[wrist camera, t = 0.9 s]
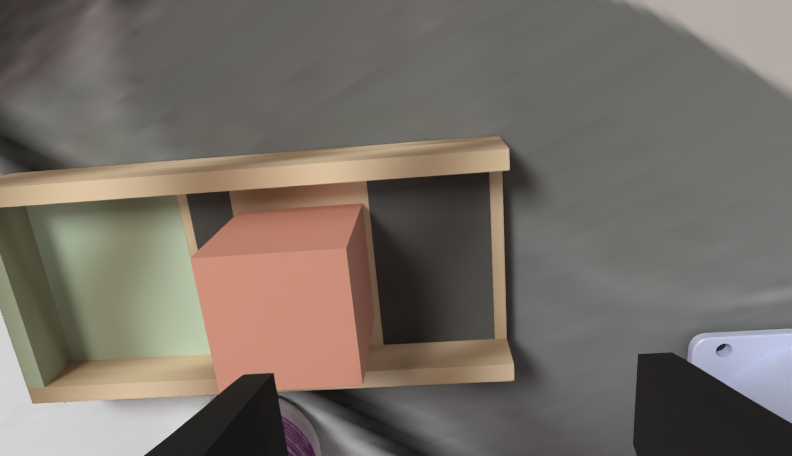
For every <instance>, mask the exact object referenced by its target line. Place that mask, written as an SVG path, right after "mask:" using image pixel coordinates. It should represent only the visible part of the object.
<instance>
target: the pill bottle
mask: <svg viewBox="0 0 792 456" xmlns="http://www.w3.org/2000/svg"><path fill="white" fill-rule="evenodd" d="M213 399H214V398H213ZM213 399H212V400H213ZM212 400H210V401H212ZM278 400H279V406H280V411H281V417H282V422H283V428H284V433H285V439H286V444H287V450H288V455H289V456H321V451H320V443H319V440H318V437H317V434H316V432H315V430H314V428H313V426H312V425H311V423H310V422H309V421H308V420H307V419H306V418H305V416H304V415H303V414H302V412H300V411H299V410H298V409H297V408H296V407H295V406H293V405H292V404H290V403H288V402H287V401H286V400H283V399H281V398H279V397H278ZM210 401H208V402H206V403H205V404H203V405H202V406H201V407H200V408H199V409H198V410H197V411H196V412H195V413H194V414H193V416H194V415H195V414H196V413H197V412H199V411H200V410H201V409H202V408H203V407H205V406H206V405H207V404H208V403H209V402H210ZM193 416H192V417H193ZM192 417H191V418H192Z"/></svg>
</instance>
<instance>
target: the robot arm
mask: <svg viewBox="0 0 792 456" xmlns="http://www.w3.org/2000/svg"><path fill="white" fill-rule="evenodd" d="M721 344H726V346H725V348H724V349H722V350H720V351H716V349H717V347H718V346H720V345H721ZM633 445H634V448H635V451H636V454H637V456H792V329H773V330H753V331H734V332H715V333H703V334H699V335H697V336H695V337H694V338H693V339H692V340H691V341H690V344H689V348H688V359H687V361H686V360H685V359H683V358H681V357H679V356H677V355H675V354H674V353H653V354H638V365H637V383H636V401H635V419H634V437H633ZM144 456H289V455H288V450H287V444H286V439H285V433H284V428H283V422H282V417H281V411H280V406H279V400H278V395H277V389H276V384H275V378H274V373H262V374H244V375H242V376H241V377H239V378H238V379H237V380H235V381H234V382H233V383H232V384H231V385H229V386H228V387H227V388H226V389H224V390H223V391H222V392H221V393H220V394H219V395H217V396H216V397H215V398H214V399H213V400H212V401H210V402H209V403H208V404H207V405H206V406H205V407H203V408H202V409H201V410H200V411H199V412H197V413H196V414H195V415H194V416H193V417H192V418H190V419H189V420H188V421H187V422H186V423H184V424H183V425H182V426H181V427H180V428H178V429H177V430H176V431H175V432H174V433H172V434H171V435H170V436H169V437H168V438H166V439H165V440H164V441H162V442H161V443H160V444H159V445H157V446H156V447H155V448H153V449H152V450H151V451H149V452H148V453H147V454H146V455H144Z"/></svg>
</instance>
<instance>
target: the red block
mask: <svg viewBox="0 0 792 456" xmlns="http://www.w3.org/2000/svg"><path fill="white" fill-rule="evenodd" d="M190 260H191V265H192V270H193V274H194V279H195V283H196V288H197V293H198V297H199V302H200V306H201V311H202V316H203V320H204V325H205V329H206V334H207V339H208V343H209V348H210V352H211V357H212V362H213V366H214V371H215V375H216V380H217V384H218V389H219V393H221V392H222V391H223V390H224V389H226V388H227V387H228V386H229V385H231V384H232V383H233V382H234V381H235V380H237V379H238V378H239V377H241V376H242V375H244V374H262V373H274V378H275V384H276V389H277V390H287V389H308V388H329V387H351V386H363V382H364V376H365V371H366V365H367V359H368V353H369V347H370V341H371V336H372V330H373V324H374V318H375V314H374V305H373V296H372V286H371V277H370V268H369V259H368V250H367V241H366V231H365V222H364V213H363V204H362V203H358V204H344V205H330V206H316V207H301V208H287V209H273V210H259V211H245V212H238V213H237V214H236V215H235V216H234V217H233V218H232V219H231V220H230V221H229V222H228V223H227V224H226V225H225V226H224V227H222V228H221V229H220V230H219V231H218V232H217V233H216V234H215V235H214V236H213V237H212V238H211V239H210V240H209V241H208V242H207V243H206V244H205V245H204V246H203V247H201V248H200V249H199V250H198V251H197V252H196V253H195V254H194V255H193V256H192V257H191V258H190Z"/></svg>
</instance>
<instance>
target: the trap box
mask: <svg viewBox="0 0 792 456" xmlns="http://www.w3.org/2000/svg"><path fill="white" fill-rule="evenodd" d="M507 170H510V161H509V148H508V147H507V145H506V144H505V143H504V141H503V140H502V139H501V138H500V136H486V137H473V138H460V139H448V140H435V141H422V142H409V143H396V144H383V145H370V146H357V147H344V148H332V149H319V150H306V151H293V152H280V153H267V154H254V155H241V156H228V157H215V158H203V159H190V160H177V161H164V162H151V163H138V164H125V165H112V166H99V167H87V168H74V169H61V170H48V171H35V172H22V173H11V174H8V175H5V176H2V177H0V310H1V313H2V316H3V318H4V321H5V324H6V327H7V330H8V333H9V336H10V339H11V342H12V345H13V348H14V350H15V353H16V356H17V359H18V362H19V365H20V368H21V371H22V374H23V377H24V380H25V382H26V385H27V388H28V391H29V394H30V397H31V400H32V403H53V402H74V401H96V400H117V399H138V398H159V397H181V396H202V395H219V394H220V393H219V389H218V384H217V380H216V375H215V371H214V366H213V362H212V357H211V352H210V348H209V343H208V339H207V334H206V329H205V325H204V320H203V316H202V311H201V306H200V302H199V297H198V293H197V288H196V283H195V279H194V274H193V270H192V265H191V260H190V258H191V257H192V256H193V255H194V254H195V253H196V252H197V251H198V250H199V249H200V248H201V247H203V246H204V245H205V244H206V243H207V242H208V241H209V240H210V239H211V238H212V237H213V236H214V235H215V234H216V233H217V232H218V231H219V230H220V229H221V228H222V227H224V226H225V225H226V224H227V223H228V222H229V221H230V220H231V219H232V218H233V217H234V216H235V215H236V214H237V213H238V212H245V211H259V210H273V209H287V208H301V207H316V206H330V205H344V204H358V203H362V204H363V213H364V222H365V231H366V241H367V250H368V259H369V268H370V277H371V286H372V296H373V305H374V314H375V318H374V324H373V330H372V336H371V341H370V347H369V353H368V359H367V365H366V371H365V376H364V382H363V386H351V387H329V388H308V389H287V390H277V392H287V391H308V390H329V389H350V388H372V387H393V386H414V385H435V384H456V383H478V382H499V381H514V363H513V359H512V355H511V352H510V348H509V345H508V341H507V330H506V292H505V253H504V215H503V177H502V171H507Z"/></svg>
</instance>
